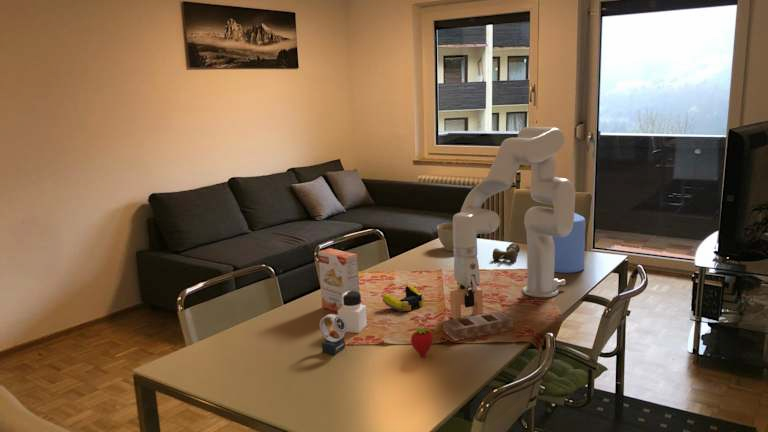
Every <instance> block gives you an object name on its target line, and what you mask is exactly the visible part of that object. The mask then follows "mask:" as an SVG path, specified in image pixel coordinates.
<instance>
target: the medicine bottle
mask: <svg viewBox="0 0 768 432" xmlns="http://www.w3.org/2000/svg"><path fill="white" fill-rule="evenodd" d="M337 315H338V316H340V317H342V318H343V319H344V321H345V323H346V332H345V333H352V334H353V333H354V334H359V333H361V332H362V331H363V330H364V329H365V327H366V326H367V325H368V321H367V306H366V304H362V295H361V293H360V291H359V292H356V291H348V292H345V293H343V294H342V307H341V308H340V309H339V310H338V312H337Z"/></svg>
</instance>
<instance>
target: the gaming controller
mask: <svg viewBox="0 0 768 432" xmlns="http://www.w3.org/2000/svg"><path fill="white" fill-rule="evenodd" d="M404 289H405V290H404V291H405V297H403V298H402V299H397V298H396V297H393V296H392V295H390V294H388V293H385V294H382V302H383V303H384V304H385V305H386V306H387V307H389V308H392V309H395V310H396V311H398V312H403V313H405V312H409V311H411V310H415V309H417V308H419V307H422V306H423V304H424V302H425V300H424V297H425V295H424V294H422V293H420V292H419V291H418V290H417V289H416V288H415V287H414V286H412V285H409V284H408V285H405V288H404Z"/></svg>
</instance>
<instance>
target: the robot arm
mask: <svg viewBox="0 0 768 432" xmlns="http://www.w3.org/2000/svg"><path fill="white" fill-rule="evenodd" d="M565 141H566V136H565V134H564V132H563V131H562V130H561V129H560V128H557V127H551V126H549V127H548V126H547V127H546V126H526V127H523V128H521V129H520V130H519V131H518V133H517V137H508V138H505V139H504V140H503V141H502V142H501V144H500V146H499V148H498V150H497V153H496V154H495V158H494V161H493V162H492V164H491V167H490V169H489V171H488V173H487V175H486V177H485V178H483V179H482V180H481V181H479V182H478V184H477V185H475V186H474V187H473V188H472V189H471V190H470V192H469V193H468V194H467V196H466V197H465V199H464V202H463V204H462V206H461V209H460V212H457V213H455V214H454V215H453V217H452V223H453V244H454V251H453V258H454V261H453V262H454V263H453V264H454V265H453V277H454V280H455V281H456V283H457V290H460V289H465V293H466V295H465V305H464V307H465V308H472V307H473V306H474V295H475V292H476V291H477V287H480V285H481V279H480V277H481V276H480V265H479V259H478V237H477V236H478V235H479V234H481V235H482V234H491V233H493V232H495V231H497V230H498V228H499V227H500V224H501V219H500V218H501V217H500V216H499V214H498V213H497V212H496V211H493V210H490V209H486V208H482V205H483V204H484V203H485V201H486V200H488V198H490V197H492V196H494V195H496V194H498V193H502V192H504V191H506V190H509V189H510V188H511V187H512V184H513V182H514V180H515V178H516V175H517V174H518V171H519V169H520V167H521V165H530V166H531V167H530V169H531V171H530V173H531V174H530V197H531V199H532V200H533V201H535V202H537V203H540V204H545V205H551V206H553V207H550V206H549V207H547V206H542V205H541V206H540V205H538V206H532V207H530V208H528V209H527V211H526V212H525V215H524V217H523V218H524V222H523V223H524V228H525V232H526V245H527V247H526V254H527V255H526V256H527V257H526V259H527V260H526V264H527V265H526V266H527V268H526V273H527V274H526V278H527V279H526V280H527V281H526V285H525V286H524V287H522V292H523V294H524V295H527V296H530V297H533V298H552V297H555V296H557V295H559V288H558V287H559V286H564V285H566V283H567V281H566V279H564V278H563V279H558V278H555V272H554V258H555V245H554V240H553V238H552V236H554V237H566V236H568V235H569V234H570V232H571V231H572V228H573V223H574V213H575V208H576V207H575V206H576V189H575V185H574V184H573V182H572V181H571V180H570V179H568V178H564V177H557V176H558V175H557V160H556V159H557V158H556V154H558V153H560V151H561V150H562V149H563V148H564V146H565ZM468 288H471V289H470V290H469V291H468Z"/></svg>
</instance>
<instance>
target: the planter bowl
mask: <svg viewBox="0 0 768 432" xmlns="http://www.w3.org/2000/svg"><path fill="white" fill-rule="evenodd" d="M436 230H437V237H438V239H439V242H440V243H441V245H442V246H443V249H444V250H445V251H448V252H454V244H453V222H446V223H441V224H438V225H437V226H436Z"/></svg>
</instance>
